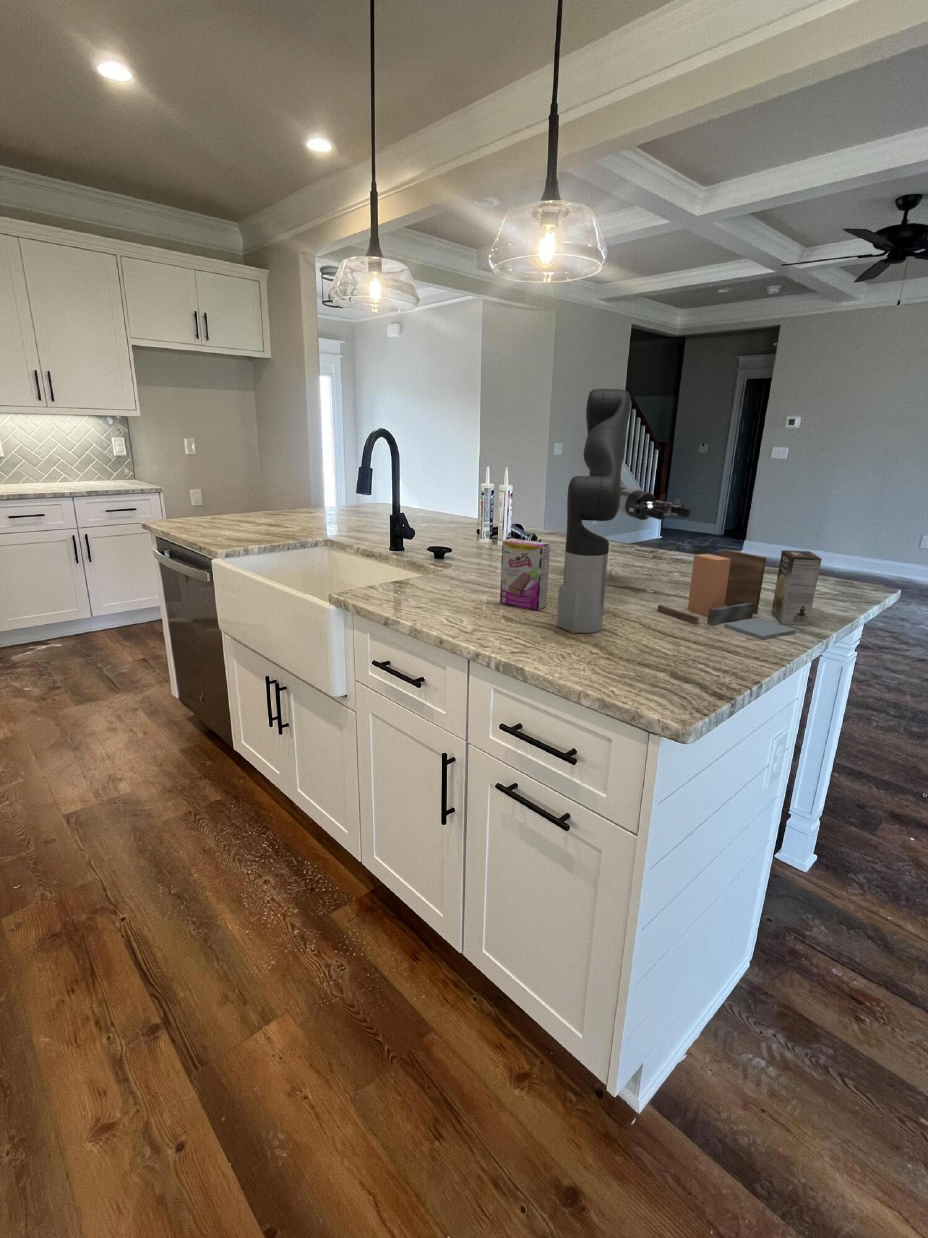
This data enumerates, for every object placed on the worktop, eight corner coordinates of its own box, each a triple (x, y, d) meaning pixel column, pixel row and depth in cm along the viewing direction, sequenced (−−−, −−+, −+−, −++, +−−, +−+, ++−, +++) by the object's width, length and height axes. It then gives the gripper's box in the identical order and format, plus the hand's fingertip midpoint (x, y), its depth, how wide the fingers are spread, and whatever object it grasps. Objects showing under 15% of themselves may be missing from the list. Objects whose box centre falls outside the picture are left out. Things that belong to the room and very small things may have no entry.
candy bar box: (498, 604, 155) (501, 540, 150) (508, 600, 159) (510, 537, 154) (538, 611, 149) (542, 545, 144) (547, 607, 153) (551, 542, 148)
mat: (762, 639, 131) (763, 636, 130) (724, 626, 139) (724, 623, 139) (795, 633, 135) (796, 629, 135) (756, 621, 144) (757, 617, 144)
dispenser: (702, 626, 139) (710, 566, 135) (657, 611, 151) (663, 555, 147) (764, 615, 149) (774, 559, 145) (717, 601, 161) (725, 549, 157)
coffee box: (769, 613, 151) (780, 549, 146) (797, 615, 149) (809, 550, 145) (780, 624, 142) (792, 556, 137) (810, 626, 141) (823, 557, 136)
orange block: (709, 617, 146) (717, 560, 142) (687, 610, 152) (694, 555, 148) (722, 615, 148) (731, 558, 144) (700, 608, 154) (707, 553, 150)
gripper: (615, 491, 165) (655, 501, 151) (657, 488, 171) (699, 498, 157) (612, 518, 168) (651, 530, 154) (653, 515, 173) (695, 526, 159)
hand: (675, 514), depth 155 cm, fingers open, 8 cm apart
